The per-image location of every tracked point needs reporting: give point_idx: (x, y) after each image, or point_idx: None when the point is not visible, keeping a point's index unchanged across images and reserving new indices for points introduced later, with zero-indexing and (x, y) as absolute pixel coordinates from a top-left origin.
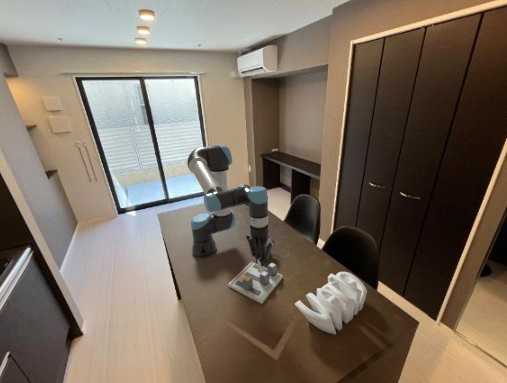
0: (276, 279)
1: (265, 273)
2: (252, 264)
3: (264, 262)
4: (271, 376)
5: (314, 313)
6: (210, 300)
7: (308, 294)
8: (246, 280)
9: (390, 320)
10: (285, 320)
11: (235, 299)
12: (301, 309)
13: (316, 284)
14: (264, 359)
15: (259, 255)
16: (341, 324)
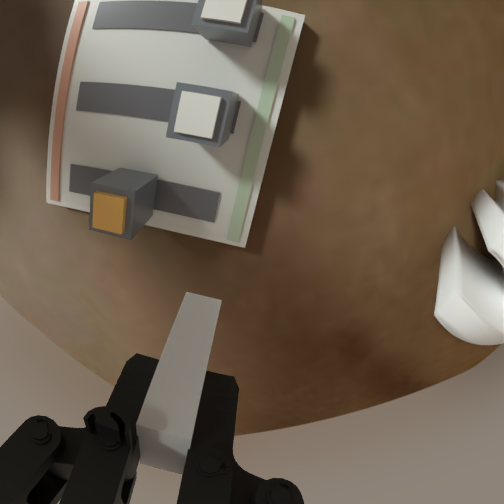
0: (279, 66)
1: (204, 111)
2: (87, 11)
3: (232, 425)
4: (339, 413)
5: (495, 329)
6: (51, 284)
7: (500, 243)
8: (113, 232)
9: None
10: (368, 283)
11: (121, 253)
12: (457, 333)
13: (477, 50)
14: (316, 397)
15: (126, 467)
16: None
